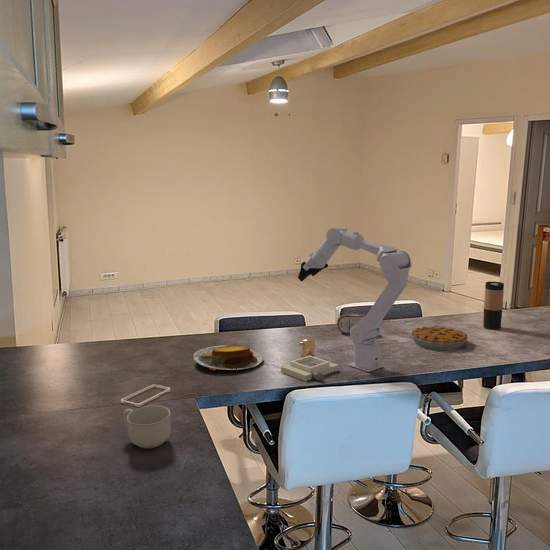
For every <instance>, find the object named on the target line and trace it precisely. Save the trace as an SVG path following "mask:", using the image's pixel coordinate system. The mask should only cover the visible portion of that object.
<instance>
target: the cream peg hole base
mask: <svg viewBox="0 0 550 550" xmlns="http://www.w3.org/2000/svg"><path fill="white" fill-rule="evenodd" d="M339 367H340V366H339V364H338V363H334V362H331V361H328V360H326V359H325V360H324V359H323V358H320V357H316V356H315V357H313V356H306V357H303V358H301V357H299V358H297V359H294V360H290V362H289V364H288V363H287V364H286V365H283V366H281V367H280V373H281V372H282V374H284V373H285V374H284V375H287V376H289V375H290V376H289V377H292V376H293V378H295V379H298V380H300V379H301V381H302V382H308V380H309V381H312V380H315V381H318V382H321V381H323V379H324V376H325V375H329V374H332V373H335V372H338V371H339ZM337 370H338V371H337ZM334 371H335V372H334ZM331 372H332V373H331ZM328 373H329V374H328ZM311 379H312V380H311Z"/></svg>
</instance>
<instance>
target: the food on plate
mask: <svg viewBox="0 0 550 550" xmlns="http://www.w3.org/2000/svg"><path fill="white" fill-rule="evenodd" d="M192 357H193V360H194V361H195V362H196V363H197V364H198V365H201V367H203V368H205V367H206V368H207V369H208V370H211V371H216V370H219V371H221V370H222V371H223V370H224V371H225V370H226V371H228V370H229V371H240V370H245V369H250V368H255V367H257V366H258V365H260V363H262V362H263V361H264V357H263V356H262V355H261V354H259V353H258V352H257V351H254V350H253V349H251V348H250V346H248V345H240V346H239V345H225V344H224V345H223V344H222V345H214V346H209V347H204V348H202V349H199V350H197V351H195V352H194V353H193V356H192ZM240 367H242V368H240ZM236 368H237V369H236Z"/></svg>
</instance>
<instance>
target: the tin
mask: <svg viewBox="0 0 550 550" xmlns="http://www.w3.org/2000/svg"><path fill="white" fill-rule="evenodd" d="M366 315H367V314H365V313H343V314H341V315H340V316H339V317H338V318H337V322H336V325H337V329H338V330H339V331H340V332H341V333H343V334H346V333H350V329H351V328H352V327H353V326H354V325H356V324H357V323H358V322H359V321H360V320H361V319H363V318H364V317H365V316H366Z"/></svg>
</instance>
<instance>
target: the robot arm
mask: <svg viewBox="0 0 550 550" xmlns="http://www.w3.org/2000/svg"><path fill="white" fill-rule="evenodd" d="M340 246H342V247H345V248H347V249H350V250H353V251H359V250H360V249H362V250H364V251H365V252H368V253H370V254H373V255H375V256H376V261H377V262H378V264H379V267H380V269H381V272H382V273H383V275H384V278H385V279H386V281H387V285H386V286H385V287H384V289H383V290H382V291H381V293H380V295H379V296H378V297H377V299H376V300H375V301H374V303H373V305H372V306H371V308H369V310H368V312H367V313H366V314H365V315H366V316H365V317H364V318H363V319H361V320H360V321H359V322H358V323H357V324H356V325H354V326H353V327H352V328H351V329H350V334H349V336H350V338H351V341H352V342H353V362H350V363H348V366H349V367H353V368H355V369H358V370H362V371H365V372H368V373H370V372H372V371H376V370H378V369H381V368H383V367H384V366H383V362H382V360H383V358H382V357H383V350H382V347H381V345H379V344H377V343H376V340H377V338H378V336H379V335H380V329H381V328H382V326H383V325H382V321H383V319H384V318H385V317H386V316H387V314H388V313H389V311H390V310H391V308H392V307H393V306H394V304H395V303H396V301H397V300H398V298H399V297H400V295H402V294H403V293H402V292H403V291H404V290H405V289H406V287H407V284H408V279H409V273H410V270H411V268H412V266H413V264H412V259H411V257H410V254H409V253H408V252H407V251H405V250H400V249H399V248H398V247H394V246H391V245H387V244H384V243H378V242H375V241H371V240H369V239H364V236H363V235H362V234H360V233H359V231H357V230H355V231H354V230H353V231H351V230H348V229H347V228H346V227H342V226H339V227H331V228H329V229H328V230H327V231H326V234H325V239H324V240H323V241H322V242H321V244H320V245H319V246H318V248H317V249H316V250H315V252H314V253H313V252H311V253H309V254H308V255H309V259H308V261H307V262H306V261H303V262H302V263H300V270H299V273H298V276H297V279H298V280H299V281H300V282H303V281H305V279H307V278H308V277H309V276H310V275H311V276H312V277H314V276H316V275H317V274H318V273H319V272H321V271H323V270H324V269H327V268H328V267H329V264H328V262H329V261H330V260H331V258H332V257H333V255H334V254H335V253H336V251H337V250H338V249H339V247H340Z"/></svg>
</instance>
